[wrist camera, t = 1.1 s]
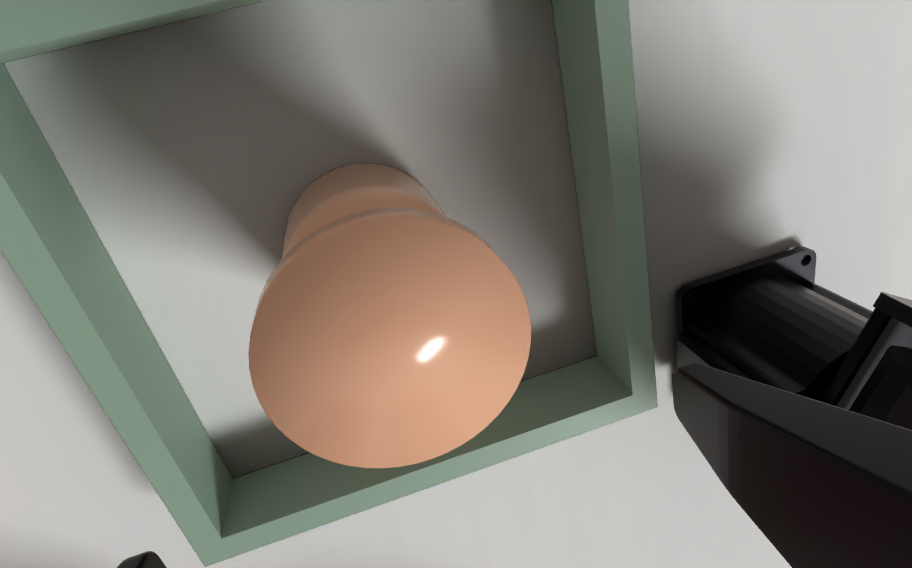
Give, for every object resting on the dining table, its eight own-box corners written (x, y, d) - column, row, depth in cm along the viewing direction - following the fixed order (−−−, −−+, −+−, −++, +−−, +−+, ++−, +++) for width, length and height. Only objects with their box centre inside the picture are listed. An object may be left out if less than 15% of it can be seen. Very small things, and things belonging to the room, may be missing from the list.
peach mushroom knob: (431, 129, 19) (505, 183, 12) (470, 293, 21) (548, 418, 14) (243, 181, 18) (197, 273, 11) (309, 343, 21) (307, 502, 14)
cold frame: (569, -111, 17) (618, -141, 14) (620, 367, 25) (657, 406, 22) (-59, 32, 15) (-141, 30, 12) (217, 504, 23) (204, 566, 20)
